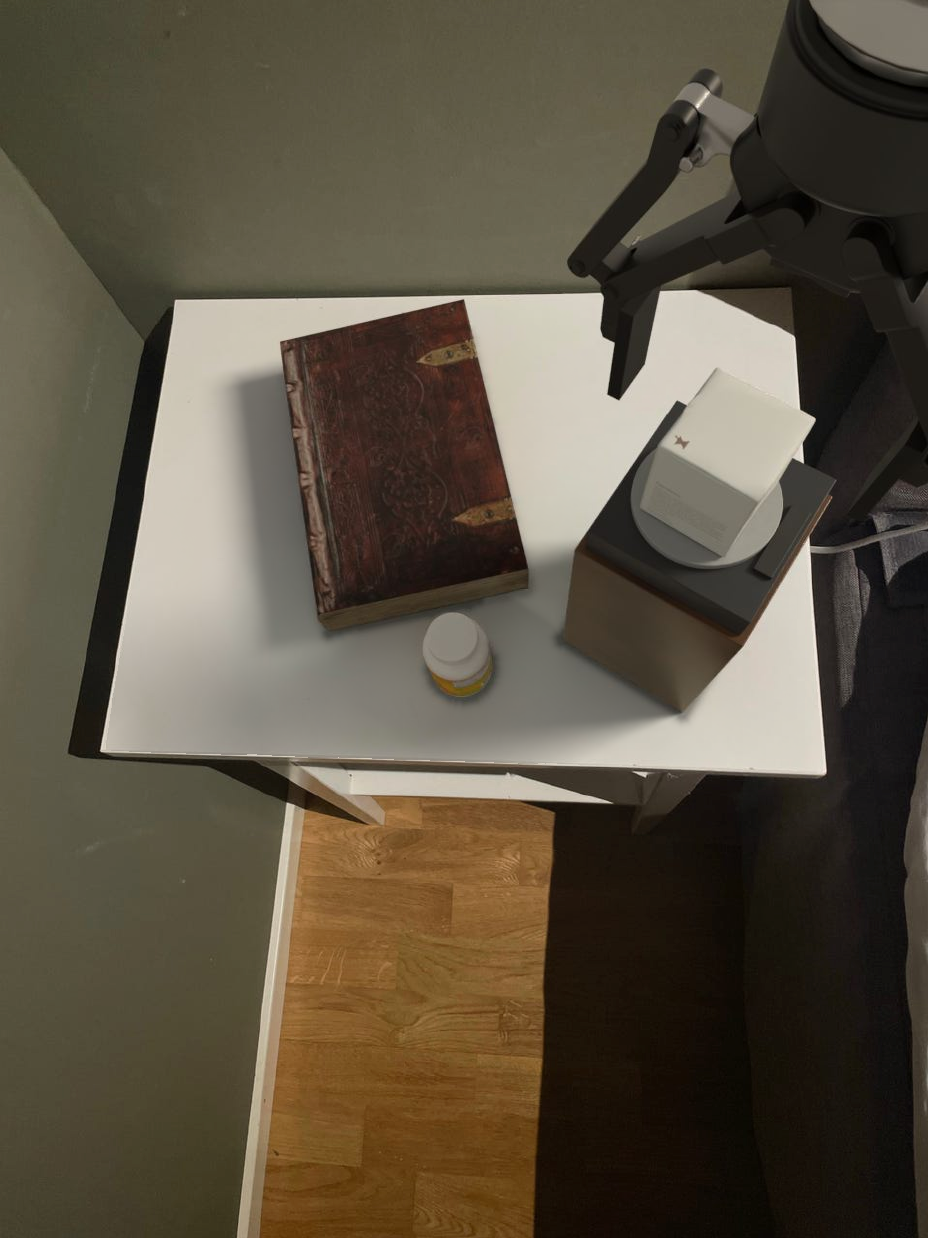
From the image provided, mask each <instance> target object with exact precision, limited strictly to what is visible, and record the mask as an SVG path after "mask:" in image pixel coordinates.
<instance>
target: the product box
mask: <svg viewBox="0 0 928 1238" xmlns="http://www.w3.org/2000/svg"><path fill="white" fill-rule="evenodd" d="M686 405H687V406H686V408H685V409H684V411H683V412H682V414H681V415H680V416H679V418H678V419H677V420H676V422H675V423H674V424H673V426H672V427H671V428H670V430H669V431H668V432H667V434H666V435H665V436H664V437H663V439H662V440H661V441H660V443H659V444H658V447H657V450H656V453H655V457H654V460H653V463H652V467H651V470H650V473H649V476H648V480H647V483H646V486H645V489H644V493H643V496H642V500H641V503H640V508H641V509H642V510H644V511H646V512H647V513H649V514H651V515H652V516H654V517H656V518H657V519H659V520H661V521H663V522H664V523H666V524H668V525H669V526H671V527H673V528H674V529H676V530H678V531H679V532H681V533H683V534H684V535H686V536H688V537H689V538H691V539H693V540H695V541H696V542H698V543H700V544H701V545H703V546H705V547H706V548H708V549H710V550H712V551H713V552H715V553H717V554H718V555H720V556H722V557H725V556H726V555H727V554H728V552H729V550H730V549H731V547H732V546H733V544H734V543H735V541H736V539H737V538H738V537H739V535H740V534H741V532H742V531H743V529H744V528H745V526H746V525H747V523H748V522H749V521H750V519H751V518H752V517H753V515H754V514H755V512H756V511H757V510H758V508H759V507H760V505H761V504H762V503H763V501H764V500H765V499H766V497H767V496H768V495H769V494H770V492H771V491H772V490H773V489H774V487H775V486H776V485H777V483H778V481H779V479H780V478H781V476H782V474H783V473H784V471H785V469H786V468H787V466H788V464H789V463H790V461H791V459H792V458H794V456H795V455H796V453H797V452H798V450H799V449H800V448H801V446H802V445H803V443H804V441H805V440H806V438H807V437H808V435H809V433H810V432H811V430H812V428H813V426H814V425H815V423H816V418H815V417H814V416H812V415H811V414H808V413H807V412H805V411H803V410H802V409H799V408H798V407H796V406H793V405H791V404H790V403H788V402H786V401H785V400H782V399H780V398H779V397H776V396H774V395H772V394H770V393H768V392H766V391H764V390H762V389H760V388H758V387H756V386H755V385H754V384H753V385H752V384H751V383H748V382H747V381H745V380H744V379H741V378H739V377H738V376H736V375H734V374H731V373H730V372H728V371H726V370H724V369H722V368H720V367H716V368H714V370H713V371H712V372H711V374H710V375H709V376H708V378H707V379H706V380H705V382H704V383H703V384H702V386H701V387H700V389H699V390H698V391H697V393H696V394H695V395H694V397H693V398H692V399H691V400H690V401H689V402H688V404H686Z"/></svg>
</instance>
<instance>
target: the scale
mask: <svg viewBox="0 0 928 1238" xmlns="http://www.w3.org/2000/svg"><path fill="white" fill-rule="evenodd" d="M687 405H688V404H685V402H684V403H683V402H681V401H679V400H676V401H675V402H674V404H673V405H672V407H671V408H670V410H669V411H668V412H667V413H666V414H665V416H666V417H665V416H664V417H665V418H664V417H663V419H664V420H663V419H662V420H663V421H662V420H661V422H662V423H661V422H660V423H661V424H660V423H659V425H660V426H659V425H658V426H659V427H658V426H657V428H658V429H657V428H656V429H657V430H656V429H655V431H656V432H655V431H654V432H655V433H654V432H653V434H654V435H653V434H652V435H653V436H652V435H651V437H652V438H651V437H650V438H651V439H650V438H649V440H648V441H649V442H648V441H647V442H648V443H646V444H647V445H646V444H645V445H646V446H645V445H644V447H645V448H644V447H643V448H644V449H643V448H642V450H643V451H642V450H641V451H642V452H641V451H640V453H641V454H640V453H639V454H640V455H639V454H638V456H639V457H638V456H637V457H638V458H637V457H636V459H637V460H636V459H635V460H636V461H635V460H634V462H635V463H634V462H633V463H634V464H633V463H632V464H631V466H632V467H631V466H630V467H631V468H630V467H629V469H630V470H629V469H628V470H629V471H628V470H627V472H628V473H627V472H626V473H627V474H626V473H625V475H626V476H625V475H624V476H625V477H624V476H623V478H624V479H623V478H622V479H623V480H622V479H621V481H622V482H621V481H620V482H621V483H620V482H619V484H620V485H619V484H618V485H619V486H618V485H617V487H618V488H617V487H616V488H617V489H616V488H615V490H616V491H615V490H614V491H615V492H614V491H613V492H614V493H612V494H613V495H612V494H611V495H612V496H610V497H611V498H610V497H609V498H610V499H609V498H608V500H609V501H608V500H607V501H608V502H607V501H606V503H607V504H606V503H605V504H606V505H605V504H604V506H605V507H604V506H603V507H604V508H603V507H602V509H603V510H602V509H601V510H602V511H601V510H600V512H601V513H600V512H599V513H600V514H599V513H598V515H599V516H598V515H597V516H598V517H597V516H596V517H597V518H596V517H595V519H596V520H595V519H594V520H595V521H594V520H593V522H594V523H593V522H592V523H593V524H591V525H592V526H591V525H590V526H591V527H589V528H590V529H589V528H588V529H589V530H588V529H587V531H588V533H587V539H586V545H585V548H587V549H588V550H590V551H592V552H594V553H595V554H597V555H599V556H601V557H602V558H604V559H606V560H608V561H609V562H611V563H613V564H615V565H616V566H618V567H620V568H622V569H623V570H625V571H627V572H629V573H630V574H632V575H634V576H636V577H638V578H639V579H641V580H643V581H645V582H646V583H648V584H650V585H652V586H653V587H655V588H657V589H659V590H660V591H662V592H664V593H666V594H667V595H669V596H671V597H673V598H674V599H676V600H678V601H680V602H681V603H683V604H685V605H687V606H689V607H690V608H692V609H694V610H696V611H697V612H699V613H701V614H703V615H704V616H706V617H708V618H710V619H711V620H713V621H715V622H717V623H718V624H720V625H722V626H724V627H725V628H727V629H729V630H731V631H732V632H734V633H736V634H738V635H741V634H742V633H743V631H744V630H745V629H746V628H747V627H748V626H749V624H750V623H751V622H752V620H753V619H754V617H755V615H756V614H757V612H758V610H759V609H760V607H761V605H762V604H763V602H764V600H765V599H766V597H767V595H768V594H769V592H770V590H771V589H772V587H773V585H774V584H775V582H776V580H777V579H778V577H779V575H780V574H781V572H782V570H783V569H784V567H785V565H786V564H787V562H788V560H789V559H790V557H791V555H792V554H793V552H794V550H795V549H796V547H797V545H798V544H799V542H800V540H801V539H802V537H803V535H804V534H805V532H806V530H807V529H808V527H809V525H810V524H811V522H812V520H813V519H814V517H815V515H816V514H817V512H818V510H819V509H820V507H821V505H822V504H823V502H824V500H825V499H826V497H827V495H828V494H829V493H830V492H831V490H832V489H833V487H834V485H835V483H836V482H837V479H836V478H834V477H832V476H830V475H828V474H826V473H824V472H822V471H820V470H818V469H816V468H814V467H812V466H810V465H808V464H806V463H803V462H802V461H799V460H797V458H794V457H793V458H792V459H791V461H790V463H789V464H788V466H787V468H786V469H785V471H784V473H783V474H782V476H781V478H780V479H779V481H778V483H777V485H776V486H775V487H774V489H773V490H772V491H771V492H770V494H769V495H768V496H767V497H766V499H765V500H764V501H763V503H762V504H761V505H760V507H759V508H758V510H757V511H756V512H755V514H754V515H753V517H752V518H751V519H750V521H749V522H748V523H747V525H746V526H745V528H744V529H743V531H742V532H741V534H740V535H739V537H738V538H737V539H736V541H735V543H734V544H733V546H732V547H731V549H730V550H729V552H728V554H727V555H726V556H725V557H722V556H720V555H718V554H717V553H715V552H713V551H712V550H710V549H708V548H706V547H705V546H703V545H701V544H700V543H698V542H696V541H695V540H693V539H691V538H689V537H688V536H686V535H684V534H683V533H681V532H679V531H678V530H676V529H674V528H673V527H671V526H669V525H668V524H666V523H664V522H663V521H661V520H659V519H657V518H656V517H654V516H652V515H651V514H649V513H647V512H646V511H644V510H642V509H641V508H640V503H641V500H642V496H643V493H644V489H645V486H646V483H647V480H648V476H649V473H650V470H651V467H652V463H653V460H654V457H655V453H656V450H657V447H658V444H659V443H660V441H661V440H662V439H663V437H664V436H665V435H666V434H667V432H668V431H669V430H670V428H671V427H672V426H673V424H674V423H675V422H676V420H677V419H678V418H679V416H680V415H681V414H682V412H683V411H684V409H685V408H686V406H687ZM829 495H830V494H829Z"/></svg>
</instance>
